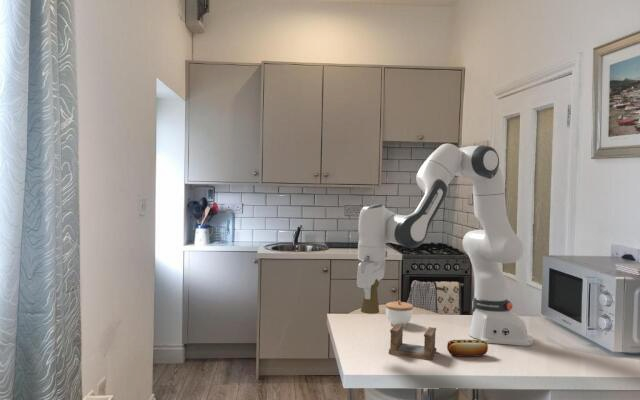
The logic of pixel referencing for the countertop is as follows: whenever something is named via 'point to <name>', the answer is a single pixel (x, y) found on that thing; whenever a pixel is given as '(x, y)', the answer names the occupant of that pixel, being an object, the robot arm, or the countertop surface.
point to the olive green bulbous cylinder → (371, 301)
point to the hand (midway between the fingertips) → (370, 296)
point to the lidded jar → (399, 312)
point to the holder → (409, 349)
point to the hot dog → (467, 347)
